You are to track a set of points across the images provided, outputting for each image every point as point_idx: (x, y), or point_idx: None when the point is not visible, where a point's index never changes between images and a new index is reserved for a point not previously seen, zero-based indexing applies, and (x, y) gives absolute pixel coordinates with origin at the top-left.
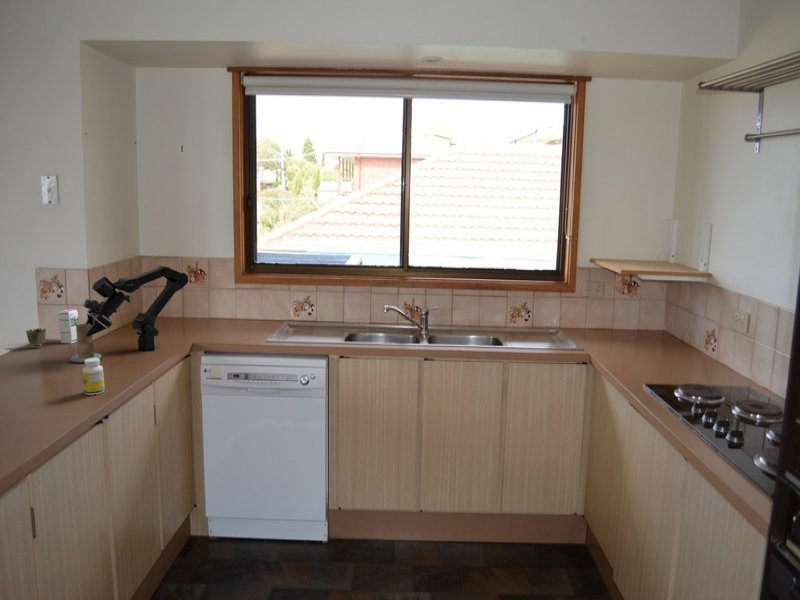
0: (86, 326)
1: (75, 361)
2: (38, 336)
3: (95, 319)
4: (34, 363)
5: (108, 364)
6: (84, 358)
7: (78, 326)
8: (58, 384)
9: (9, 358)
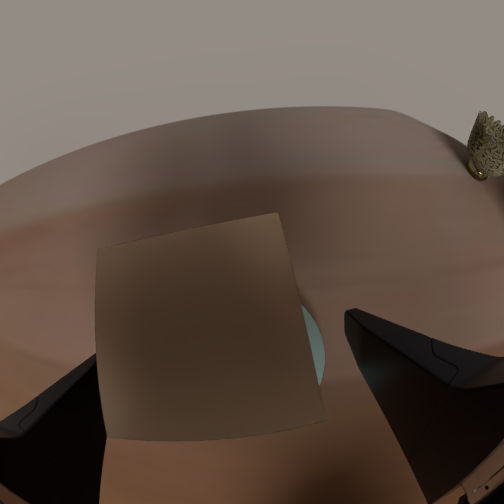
0: (100, 361)
1: None
2: (482, 145)
3: (459, 482)
4: (271, 160)
5: None
6: None
7: (122, 252)
8: (6, 255)
9: (362, 111)
